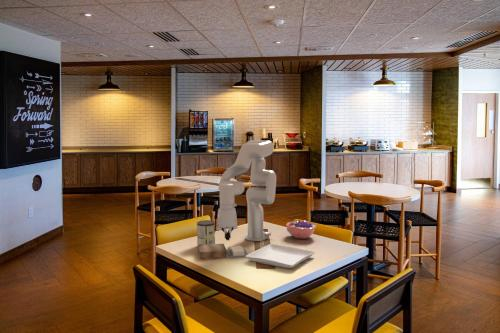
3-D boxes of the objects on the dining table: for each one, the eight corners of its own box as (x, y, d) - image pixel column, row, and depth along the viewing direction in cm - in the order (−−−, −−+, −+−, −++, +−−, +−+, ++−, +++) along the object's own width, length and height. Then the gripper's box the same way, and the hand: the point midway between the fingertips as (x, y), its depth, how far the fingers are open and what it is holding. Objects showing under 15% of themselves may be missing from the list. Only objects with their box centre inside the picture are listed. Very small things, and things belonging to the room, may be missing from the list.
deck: (223, 250, 237) (223, 243, 237) (226, 258, 224) (226, 250, 223) (198, 251, 235) (198, 244, 234) (199, 259, 221) (199, 252, 221)
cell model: (301, 232, 278) (301, 215, 276) (321, 239, 261) (322, 221, 259) (280, 235, 269) (280, 218, 268) (299, 243, 252) (299, 224, 251)
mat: (244, 249, 240) (244, 248, 240) (249, 257, 225) (249, 256, 225) (225, 250, 238) (225, 249, 238) (228, 258, 223) (228, 258, 223)
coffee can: (202, 243, 252) (202, 219, 251) (218, 245, 248) (218, 221, 247) (193, 247, 243) (193, 223, 242) (209, 249, 239) (209, 225, 237)
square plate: (292, 272, 203) (292, 264, 203) (244, 262, 218) (244, 255, 217) (315, 257, 226) (315, 250, 226) (270, 249, 241) (270, 242, 240)
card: (230, 246, 235) (230, 251, 235) (233, 251, 226) (233, 256, 226) (241, 246, 236) (241, 250, 236) (244, 251, 227) (244, 255, 228)
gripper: (239, 204, 233) (240, 236, 236) (212, 205, 230) (213, 238, 233) (241, 207, 226) (242, 240, 228) (213, 208, 223) (214, 242, 226)
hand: (227, 239), depth 231 cm, fingers closed
